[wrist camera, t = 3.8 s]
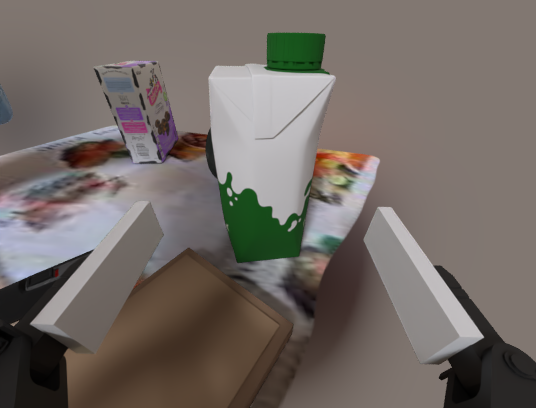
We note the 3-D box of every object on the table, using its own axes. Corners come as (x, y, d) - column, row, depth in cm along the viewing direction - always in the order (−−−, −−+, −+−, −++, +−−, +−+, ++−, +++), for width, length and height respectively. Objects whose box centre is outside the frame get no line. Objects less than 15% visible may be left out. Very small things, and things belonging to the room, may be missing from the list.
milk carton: (308, 262, 23) (359, 32, 11) (227, 271, 22) (184, 27, 10) (291, 212, 30) (310, 36, 18) (228, 217, 29) (203, 33, 17)
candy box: (163, 164, 42) (131, 65, 32) (132, 164, 41) (89, 65, 31) (179, 138, 52) (159, 59, 42) (155, 139, 52) (129, 59, 42)
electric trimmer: (-67, 334, 18) (-108, 317, 16) (134, 246, 25) (122, 228, 23) (-86, 379, 15) (-138, 366, 13) (141, 267, 23) (129, 249, 21)
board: (46, 376, 15) (24, 367, 14) (192, 259, 24) (188, 245, 22) (139, 597, 9) (117, 619, 8) (291, 334, 18) (293, 323, 16)
